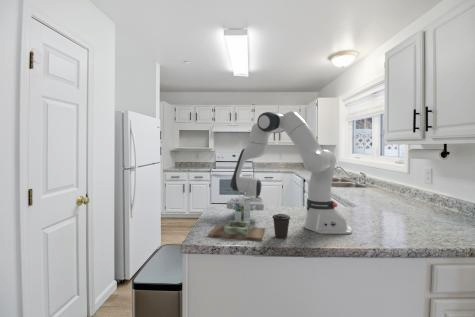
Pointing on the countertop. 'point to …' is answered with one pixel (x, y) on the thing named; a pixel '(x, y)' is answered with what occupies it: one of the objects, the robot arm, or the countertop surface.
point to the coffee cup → (281, 225)
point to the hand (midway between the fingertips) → (243, 208)
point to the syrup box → (242, 209)
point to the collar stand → (237, 231)
